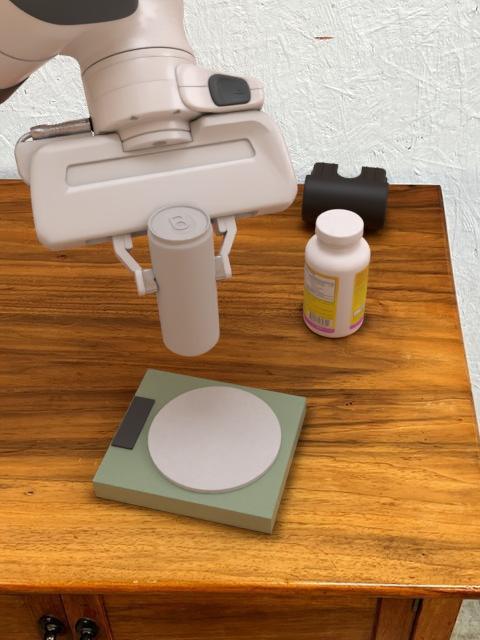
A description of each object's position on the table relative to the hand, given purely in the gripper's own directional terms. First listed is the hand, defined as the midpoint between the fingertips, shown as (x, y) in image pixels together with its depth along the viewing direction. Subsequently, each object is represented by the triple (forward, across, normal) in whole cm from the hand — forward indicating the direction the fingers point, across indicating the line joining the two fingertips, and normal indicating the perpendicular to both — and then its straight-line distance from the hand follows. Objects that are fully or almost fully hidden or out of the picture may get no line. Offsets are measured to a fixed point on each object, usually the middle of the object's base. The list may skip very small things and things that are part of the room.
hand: (186, 286), depth 60 cm
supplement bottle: (+5, +18, +22) cm, 28 cm away
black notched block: (-7, +25, +33) cm, 42 cm away
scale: (+14, 0, +12) cm, 19 cm away
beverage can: (+4, 0, +5) cm, 7 cm away
